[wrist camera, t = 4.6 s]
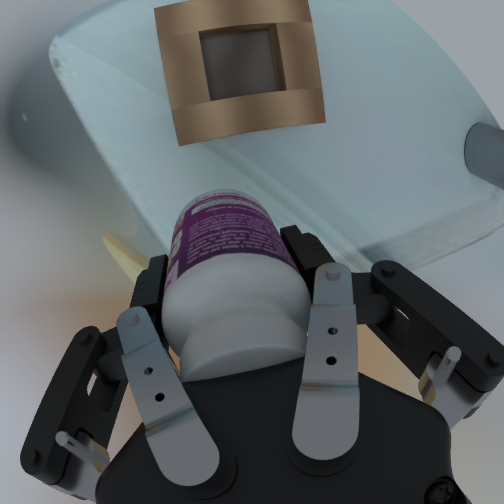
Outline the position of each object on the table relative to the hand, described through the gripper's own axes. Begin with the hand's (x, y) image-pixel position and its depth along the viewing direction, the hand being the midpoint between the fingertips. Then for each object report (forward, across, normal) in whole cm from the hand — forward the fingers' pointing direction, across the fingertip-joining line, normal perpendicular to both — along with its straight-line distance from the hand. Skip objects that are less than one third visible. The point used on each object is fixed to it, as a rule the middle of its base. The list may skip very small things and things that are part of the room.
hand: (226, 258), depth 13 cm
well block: (+19, -5, -10) cm, 22 cm away
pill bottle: (+3, 0, 0) cm, 3 cm away
